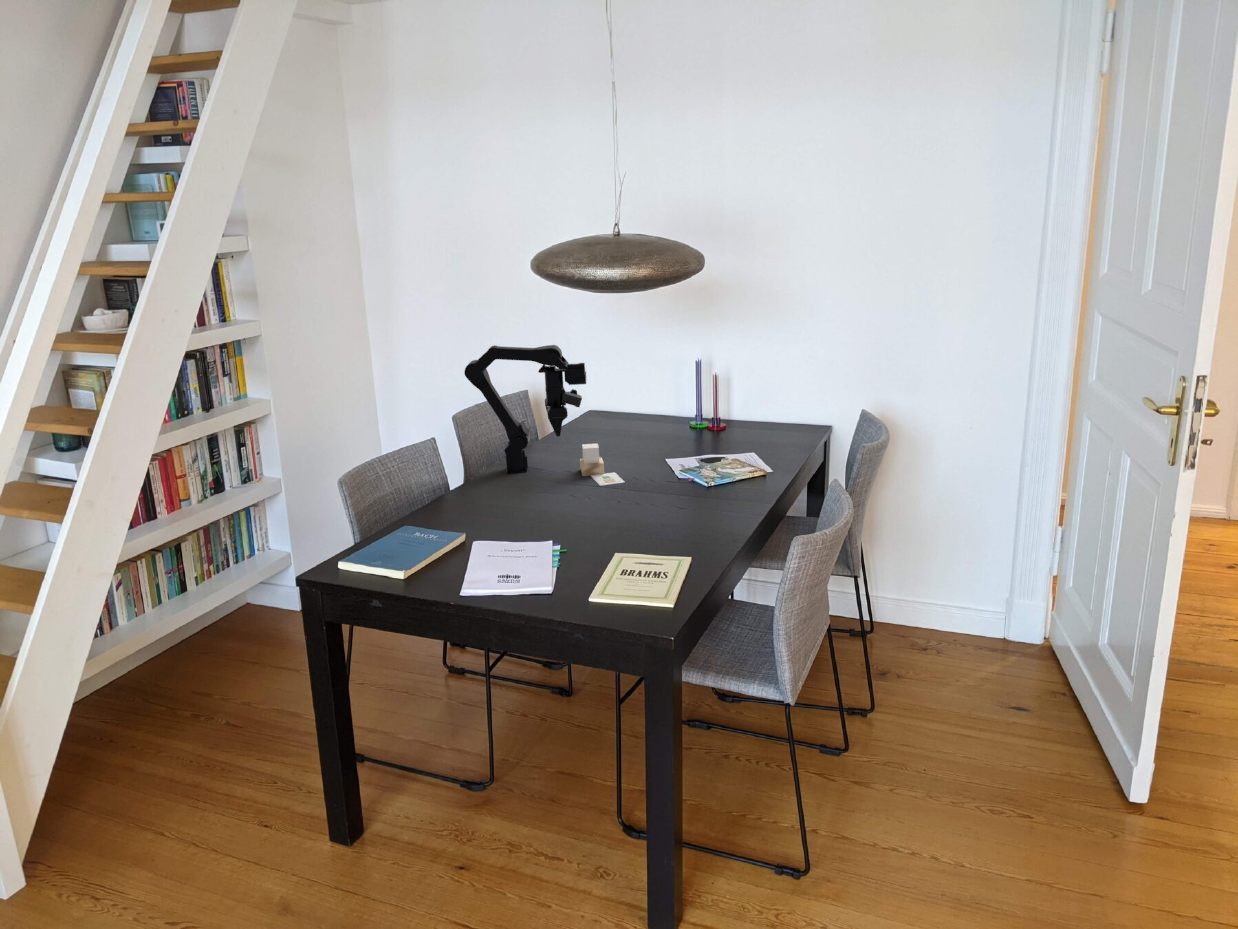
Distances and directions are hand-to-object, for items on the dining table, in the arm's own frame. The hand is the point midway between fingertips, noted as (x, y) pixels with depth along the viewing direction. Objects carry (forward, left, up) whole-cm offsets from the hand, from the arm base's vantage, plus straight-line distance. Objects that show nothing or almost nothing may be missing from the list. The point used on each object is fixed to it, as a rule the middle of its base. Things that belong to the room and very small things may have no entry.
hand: (557, 432), depth 306 cm
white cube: (+10, -7, -8) cm, 15 cm away
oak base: (+10, -7, -12) cm, 17 cm away
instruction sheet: (+14, -16, -12) cm, 24 cm away
